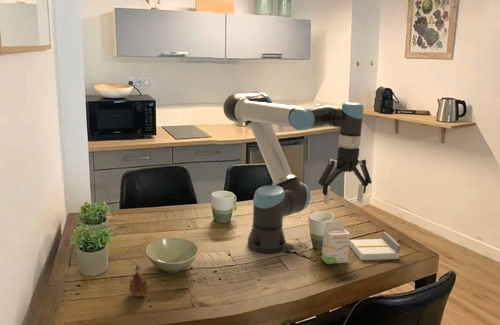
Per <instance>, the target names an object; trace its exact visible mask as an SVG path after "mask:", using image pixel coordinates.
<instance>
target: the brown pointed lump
mask: <svg viewBox="0 0 500 325" xmlns="http://www.w3.org/2000/svg"><path fill="white" fill-rule="evenodd" d="M140 269H141V266H139V265H137V264H136V266H135V269H134V271H135V274H134V275H133V276H132V279H131V280H129V291H130V293H132V294H133V295H134V296H137V295H146V294H147V293H148V289H149V286H148V283H147V281H146V279H144V277H143V275H142V274H141V273H140V272H139V271H140Z"/></svg>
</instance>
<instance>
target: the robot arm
mask: <svg viewBox="0 0 500 325" xmlns="http://www.w3.org/2000/svg"><path fill="white" fill-rule="evenodd" d="M222 108H223V109H222V110H223V114H224V115H225V117H226V118H227V119H228V120H229V121H231V122H236V123H237V122H238V123H244V124H245V127H246V128H247V129H249V130H251V131H252V133H253V136H254V139H255V141H256V143H257V146H258V148H259V150H260V153H261V156H262V157H263V160H264V163H265V166H266V168H267V170H268V173H269V175H270V177H271V179H272V184H270V185H264V186H261V187H259V188H257V189H256V190H255V192H254V196H253V202H252V203H253V208H252V209H253V213H252V226H251V228H250V229H251V230H250V233H249V234H248V237H247V247H248V248H249V249H250V250H252V251H253V252H256V253H262V254H276V253H279V252H282V251H284V250H285V249H286V247H285V246H286V243H287V241H286V237H285V233H284V229H283V225H284V224H283V223H284V222H283V221H284V218H285V217H288V216H291V215H294V214H298V213H300V212H302V211H304V210H305V209H307V208H308V206H309V205H310V202H311V192H310V191H311V190H310V189H309V186H308V185H307V184H305V183H304V182H300V180H299V177H298V176H297V175H295V174H293V173H292V170H291V167H290V165H289V163H288V160H287V158H286V156H285V153H284V150H283V148H282V146H281V143H280V142H279V139H278V137H277V134H276V131H275V129H274V127H273V125H277V126H284V127H290V128H293V129H294V130H297V131H306V130H311V129H316V128H322V127H333V128H338V129H339V134H338V136H339V137H338V144H337V145H338V146H337V158H336V159H332V158H329V159H328V163H327V165H326V166H325V169H324V171H323V173H322V174H321V176H320V179H319V180H318V184H319V185H320V186H322V194H323V195H324V196H323V203H324V204H326V205H330V196H331V194H330V193H331V186H330V185H331V184H332V183H333V182H334V181H335V180H336V178H337V177H338V176H339V175H340V174H341V173H347V172H348V173H352V172H353V174H354V175H355V176H356V178H357V180H359V182H360V183H358V189H357V197H356V201H358V202H359V203H363V200H364V194H366V189H367V186H369V184H372V182H373V181H372V179H371V177H370V173H369V170H368V167H367V160H366V159H364V158H363V157H360V145H361V138H362V137H361V136H362V127H363V122H364V120H363V119H364V105H363V104H362V103H360V102H352V101H351V102H350V101H346V102H343V103H342V105H341V106H336V105H332V104H331V105H330V104H327V103H316V104H315V105H314V106H308V107H307V106H297V105H289V104H288V105H287V104H279V103H273V101H272V99H271V97H270V96H269V95H267V93H265V92H260V91H252V92H242V93H241V92H240V93H239V92H238V93H237V92H236V93H233V94H231V95H229V96H228V97H226V98H225V101H224V103H223V106H222ZM359 157H360V158H359ZM358 165H359V167H360V169H361V172H362V173H361V172H360V170H359V169H358V168H357V166H358ZM334 167H335V168H334Z"/></svg>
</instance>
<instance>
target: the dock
mask: <svg viewBox="0 0 500 325" xmlns="http://www.w3.org/2000/svg"><path fill="white" fill-rule="evenodd" d="M349 248H351V249H352V251H353V252H354V253H355V254H356V255H357V257H358V259H360V260H361V261H374V260H376V261H380V260H399V259H400V252H401V245H400V244H399V243H398V242H397V241H396V240H395V239H394V238H393V237H392V236H391V235H390V234H389V233H388V232H386V231H382V237H381V238H372V239H369V238H366V239H364V238H363V239H350V240H349Z"/></svg>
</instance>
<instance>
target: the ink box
mask: <svg viewBox="0 0 500 325" xmlns="http://www.w3.org/2000/svg"><path fill="white" fill-rule="evenodd" d="M345 221H346V220H345ZM345 221H344V220H343V221H342V220H341V221H328V222H325V226H324V230H323V240H322V249H321V260H322V261H323V263H326V265H330V264H331V265H332V264H333V265H334V264H343V263H344V264H345V263H348V259H349V258H348V256H349V248H350V246H349V243H350V240H351V239H350V238H351V233H350V232H349V231H348V230H347V229H346V228H345V224H346V222H345Z"/></svg>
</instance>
